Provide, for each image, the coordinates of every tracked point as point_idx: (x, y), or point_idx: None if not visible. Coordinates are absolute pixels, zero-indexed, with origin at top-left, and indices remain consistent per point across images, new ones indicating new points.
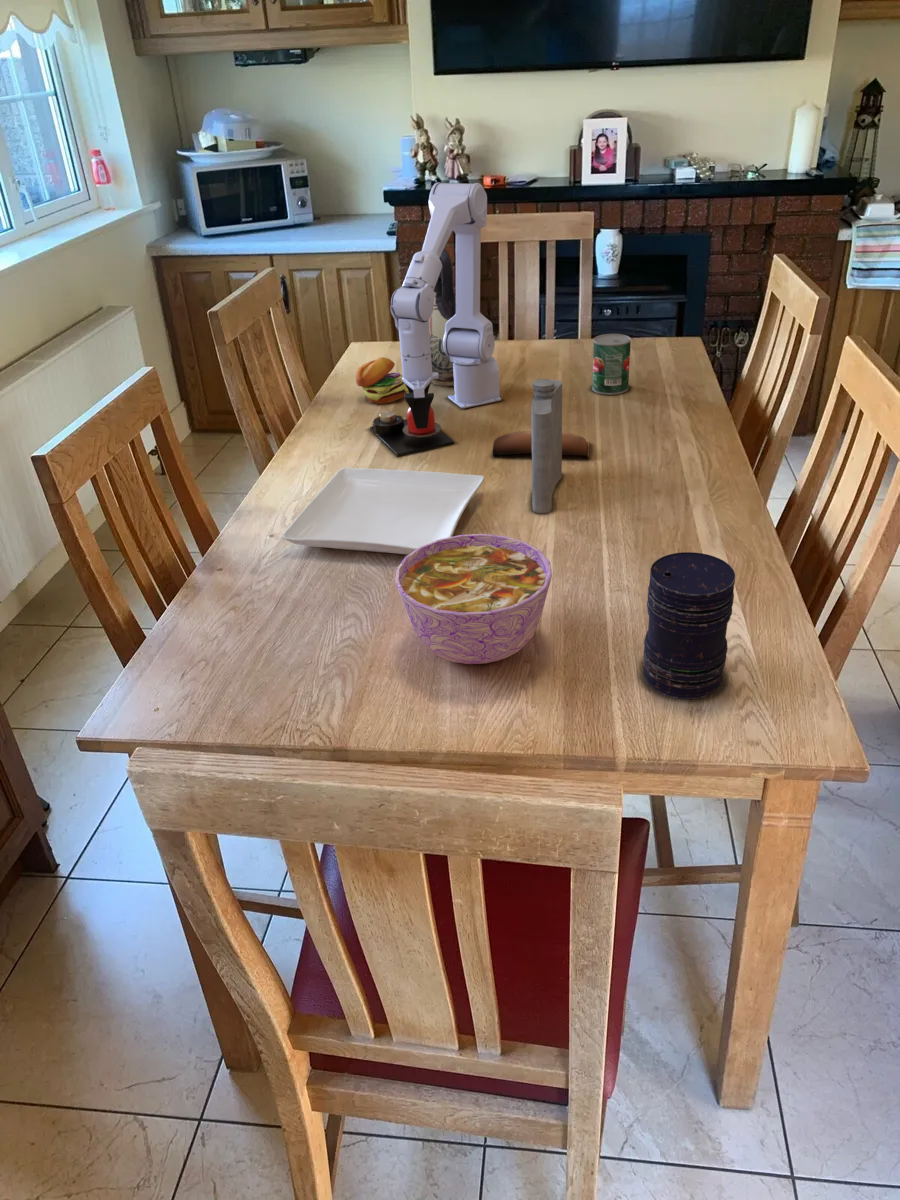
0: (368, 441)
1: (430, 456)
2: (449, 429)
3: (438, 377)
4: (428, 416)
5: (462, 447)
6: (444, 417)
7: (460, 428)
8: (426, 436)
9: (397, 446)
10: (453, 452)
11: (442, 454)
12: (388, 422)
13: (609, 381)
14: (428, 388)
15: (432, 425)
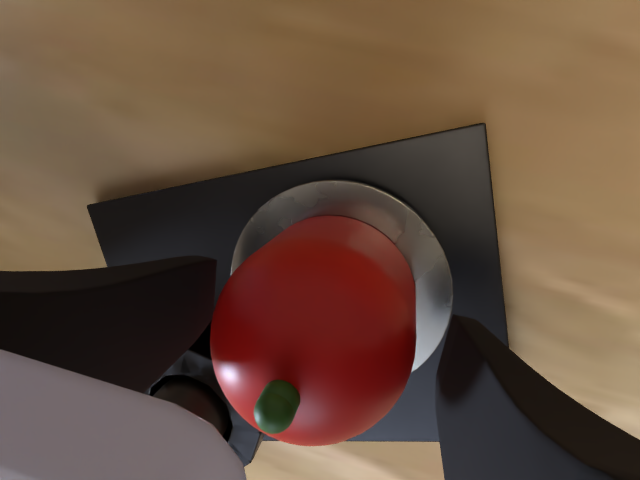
0: (287, 471)
1: (597, 291)
2: (260, 105)
3: (175, 418)
4: (521, 359)
5: (560, 81)
6: (102, 99)
7: (264, 38)
8: (452, 294)
9: (422, 412)
10: (611, 154)
11: (605, 223)
12: (223, 429)
13: None
14: (69, 297)
15: (393, 253)
